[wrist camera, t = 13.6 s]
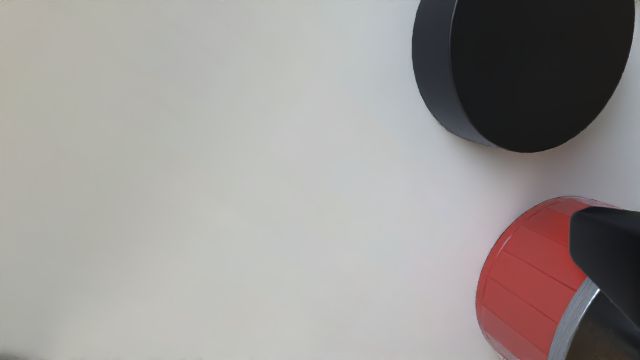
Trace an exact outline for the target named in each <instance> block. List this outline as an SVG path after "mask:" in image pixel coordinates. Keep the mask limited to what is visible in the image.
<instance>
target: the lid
mask: <svg viewBox="0 0 640 360" xmlns="http://www.w3.org/2000/svg"><path fill="white" fill-rule="evenodd" d="M547 360H640V330H639V329H638V328H637V327H636V326H635V325H634V324H633V323H632V322H631V321H630V320H629V319H628V318H627V317H626V316H625V315H624V314H623V313H622V312H621V311H620V310H619V309H618V308H617V307H616V306H615V304H614V303H613V302H612V301H611V300H610V299H609V298H608V297H607V296H606V295H605V294H604V293H603V292H602V291H601V290H600V289H599V288H598V287H597V286H596V285H595V284H594V283H593V282H592V281H591V280H590V279H589V278H588V277H587V278H586V279H585V280H584V281H583V283H582V284H581V286H580V287H579V289H578V290H577V292H576V293H575V295H574V296H573V298H572V299H571V301H570V303H569V305H568V306H567V308H566V310H565V312H564V314H563V316H562V318H561V320H560V322H559V325H558V327H557V329H556V332H555V335H554V337H553V340H552V343H551V346H550V350H549V355H548V359H547Z"/></svg>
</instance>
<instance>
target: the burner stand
mask: <svg viewBox="0 0 640 360" xmlns="http://www.w3.org/2000/svg"><path fill="white" fill-rule="evenodd" d="M634 22H635V1H634V0H421V1H420V4H419V7H418V10H417V13H416V18H415V22H414V28H413V36H412V60H413V69H414V74H415V78H416V83H417V85H418V88H419V91H420V94H421V96H422V98H423V100H424V102H425V104H426V106H427V107H428V109H429V110H430V112H431V113H432V114H433V116H434V117H435V118H436V119H437V120H438V121H439V122H440V124H441V125H443V126H444V127H445V128H446V129H448V130H449V131H450V132H452V133H454V134H456V135H457V136H459V137H461V138H464V139H467V140H470V141H474V142H478V143H481V144H485V145H489V146H493V147H497V148H501V149H504V150H508V151H513V152H519V153H533V152H540V151H545V150H548V149H551V148H554V147H557V146H559V145H561V144H563V143H565V142H567V141H569V140H570V139H572V138H573V137H575V136H576V135H578V134H579V133H580V132H581V131H583V130H584V129H585V128H586V127H587V126H588V125H589V124H590V123H591V122H592V121H593V120H594V119H595V118H596V117H597V116H598V115H599V113H600V112H601V111H602V110H603V108H604V107H605V106H606V104H607V103H608V101H609V99H610V98H611V96H612V95H613V93H614V91H615V89H616V87H617V85H618V83H619V81H620V79H621V76H622V74H623V72H624V69H625V66H626V63H627V60H628V57H629V53H630V49H631V45H632V39H633V32H634Z"/></svg>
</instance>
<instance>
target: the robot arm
mask: <svg viewBox="0 0 640 360" xmlns="http://www.w3.org/2000/svg"><path fill="white" fill-rule="evenodd" d="M569 254H570V256H571V259H572V260H573V262H574V263H575V264H576V265H577V266H578V267H579V268H580V269H581V270H582V271H583V272H584V274H585V275H586V276H587V277H588V278H589V279H590V280H591V281H592V282H593V283H594V284H595V285H596V286H597V287H598V288H599V289H600V290H601V291H602V292H603V293H604V294H605V295H606V296H607V297H608V298H609V299H610V300H611V301H612V302H613V303H614V304H615V306H616V307H617V308H618V309H619V310H620V311H621V312H622V313H623V314H624V315H625V316H626V317H627V318H628V319H629V320H630V321H631V322H632V323H633V324H634V325H635V326H636V327H637V328H638V329H639V330H640V212H637V211H630V210H622V209H615V208H607V207H600V206H591V207H587V208H585V209H582V210H579V211H576V212H574V213H573V214H572V215H571V217H570V220H569Z"/></svg>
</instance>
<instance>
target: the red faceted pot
mask: <svg viewBox="0 0 640 360" xmlns="http://www.w3.org/2000/svg"><path fill="white" fill-rule="evenodd" d="M591 206H600V207H607V208H615V209H621V208H618V207H615V206H612V205H609V204H606V203H603V202H600V201H597V200H594V199H587V198H584V197H579V196H562V197H557V198H553V199H550V200H547V201H544V202H542V203H540V204H538V205H536V206H534V207H533V208H531V209H529V210H528V211H526V212H525V213H524V214H522V215H521V216H520V217H519V218H517V219H516V220H515V221H514V222H513V223H512V224H511V225H510V226H509V227H508V228H507V229H506V230H505V232H504V233H503V234H502V235H501V237H500V238H499V239H498V241H497V242H496V244H495V245H494V247H493V248H492V250H491V252H490V254H489V256H488V258H487V259H486V262H485V264H484V267H483V269H482V272H481V275H480V279H479V282H478V287H477V293H476V313H477V319H478V323H479V326H480V328H481V331H482V333H483V335H484V337H485V338H486V340H487V341H488V342H489V343H490V344H491V346H492V347H493V348H494V349H495V350H496V351H497V352H498V353H500V354H501V355H502V356H503V357H504V358H505V359H506V360H547V359H548V355H549V350H550V346H551V343H552V340H553V337H554V335H555V332H556V329H557V327H558V325H559V322H560V320H561V318H562V316H563V314H564V312H565V310H566V308H567V306H568V305H569V303H570V301H571V299H572V298H573V296H574V295H575V293H576V292H577V290H578V289H579V287H580V286H581V284H582V283H583V281H584V280H585V279H586V278H587V276H586V275H585V274H584V272H583V271H582V270H581V269H580V268H579V267H578V266H577V265H576V264H575V263H574V262H573V260H572V259H571V256H570V254H569V220H570V217H571V215H572V214H573V213H574V212H576V211H579V210H582V209H585V208H587V207H591ZM622 210H624V209H622Z"/></svg>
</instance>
